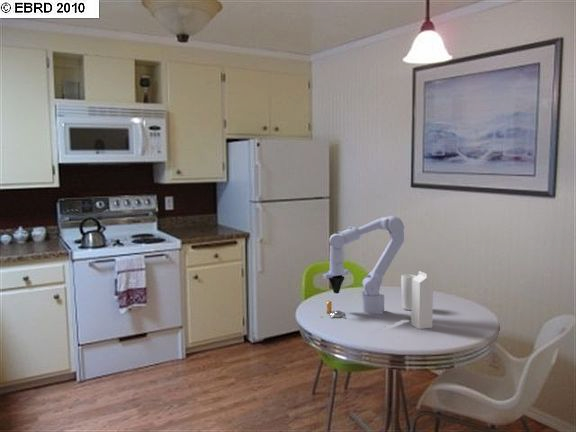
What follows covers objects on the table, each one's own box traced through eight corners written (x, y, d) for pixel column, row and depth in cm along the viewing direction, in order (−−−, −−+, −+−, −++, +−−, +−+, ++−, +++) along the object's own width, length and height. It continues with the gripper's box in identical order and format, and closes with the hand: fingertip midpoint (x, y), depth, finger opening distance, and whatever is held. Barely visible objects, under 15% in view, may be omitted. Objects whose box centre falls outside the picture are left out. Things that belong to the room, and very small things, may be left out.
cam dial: (351, 316, 204) (351, 304, 203) (338, 320, 198) (338, 308, 198) (333, 310, 211) (333, 299, 211) (320, 314, 206) (320, 303, 205)
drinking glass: (399, 310, 215) (399, 277, 214) (401, 305, 222) (402, 273, 220) (415, 311, 213) (415, 278, 211) (417, 307, 219) (417, 274, 217)
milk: (419, 329, 191) (419, 274, 188) (410, 324, 196) (411, 271, 194) (432, 327, 192) (433, 273, 190) (424, 322, 198) (425, 270, 196)
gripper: (340, 258, 216) (340, 288, 218) (317, 263, 207) (317, 294, 208) (352, 260, 211) (352, 291, 212) (329, 265, 201) (329, 297, 203)
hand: (336, 292), depth 210 cm, fingers closed
